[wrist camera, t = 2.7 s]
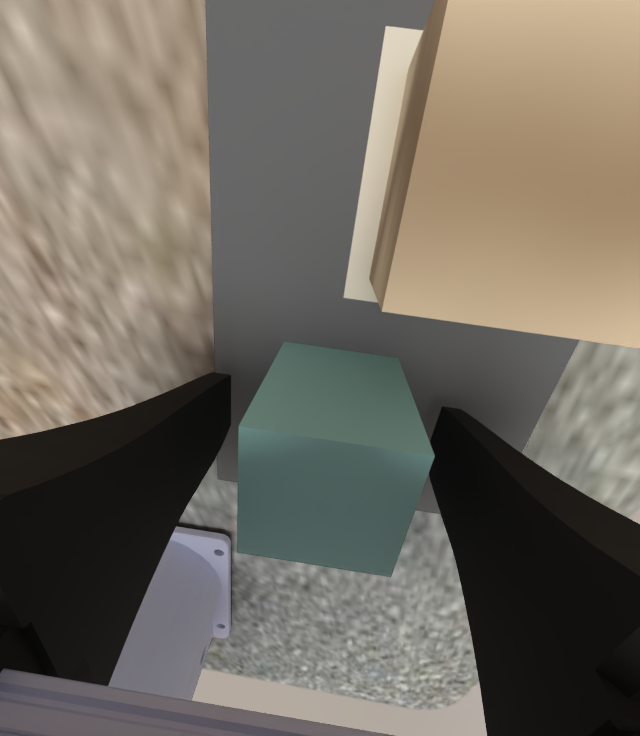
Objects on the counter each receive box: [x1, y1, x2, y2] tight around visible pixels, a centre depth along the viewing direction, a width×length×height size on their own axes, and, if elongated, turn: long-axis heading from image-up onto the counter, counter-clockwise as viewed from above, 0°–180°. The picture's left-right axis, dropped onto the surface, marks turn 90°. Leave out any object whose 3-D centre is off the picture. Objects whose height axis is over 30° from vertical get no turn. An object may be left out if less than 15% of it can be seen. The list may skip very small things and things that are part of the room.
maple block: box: [369, 0, 640, 348], centre depth 7 cm, size 5×5×4 cm
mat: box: [205, 0, 579, 514], centre depth 10 cm, size 18×12×1 cm, turn 173°
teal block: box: [237, 342, 435, 577], centre depth 9 cm, size 4×4×5 cm
